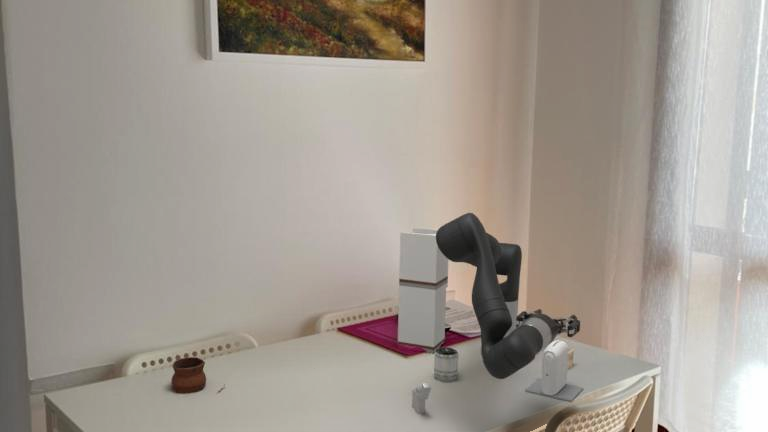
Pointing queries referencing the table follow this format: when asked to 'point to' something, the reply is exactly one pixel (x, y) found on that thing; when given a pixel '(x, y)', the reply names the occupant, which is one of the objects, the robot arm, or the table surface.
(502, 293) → the robot arm
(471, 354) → the table surface
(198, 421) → the table surface
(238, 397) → the table surface
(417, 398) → the lighter
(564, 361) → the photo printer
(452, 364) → the camera lens
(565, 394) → the felt pad
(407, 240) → the tall white banded vase
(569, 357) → the wooden block
